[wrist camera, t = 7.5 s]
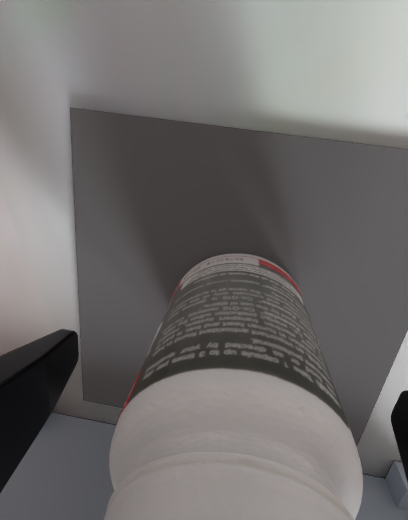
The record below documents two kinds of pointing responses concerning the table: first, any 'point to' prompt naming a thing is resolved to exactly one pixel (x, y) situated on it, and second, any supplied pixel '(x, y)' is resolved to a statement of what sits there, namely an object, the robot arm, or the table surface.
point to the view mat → (237, 239)
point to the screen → (100, 485)
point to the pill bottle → (234, 408)
